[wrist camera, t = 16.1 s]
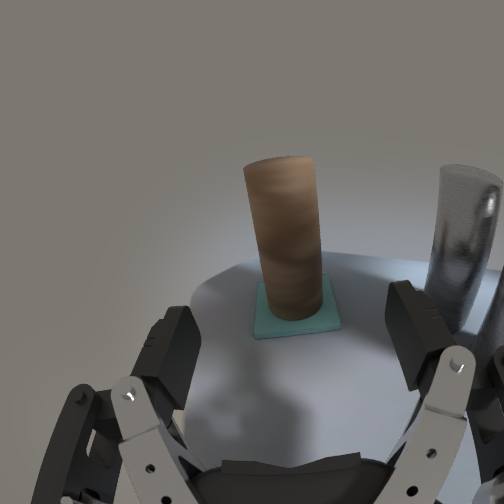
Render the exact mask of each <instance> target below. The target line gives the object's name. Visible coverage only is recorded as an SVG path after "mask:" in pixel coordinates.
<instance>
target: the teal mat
mask: <svg viewBox="0 0 504 504" xmlns="http://www.w3.org/2000/svg"><path fill="white" fill-rule="evenodd" d="M322 286H323V304H322V306H321V308H320V310H319V311H318V312H317V313H316V314H314V315H313V316H311V317H309V318H306V319H303V320H297V321H289V320H283V319H280V318H278V317H276V316H275V315H273V314H272V313H271V311H270V309H269V306H268V300H267V295H266V289H265V284H264V282H258V287H257V298H256V310H255V321H254V333H253V335H254V338H255V339H261V338H273V337H283V336H293V335H302V334H310V333H318V332H326V331H333V330H339V329H341V322H340V318H339V314H338V310H337V306H336V302H335V298H334V294H333V291H332V287H331V283H330V279H329V276H328V274H323V275H322Z"/></svg>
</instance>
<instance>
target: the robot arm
mask: <svg viewBox="0 0 504 504" xmlns="http://www.w3.org/2000/svg"><path fill="white" fill-rule="evenodd" d="M385 322H386V326H387V329H388V332H389V334H390V337H391V340H392V342H393V345H394V348H395V350H396V353H397V356H398V359H399V362H400V365H401V368H402V371H403V374H404V377H405V380H406V383H407V386H408V389H409V391H413V390H417V389H419V392H420V397H419V399H418V401H417V403H416V406H415V408H414V410H413V412H412V415H411V417H410V419H409V421H408V423H407V425H406V427H405V429H404V431H403V433H402V435H401V437H400V439H399V441H398V442H397V444H396V446H395V447H394V449H393V450H392V452H391V454H390V455H389V457H388V459H387V460H386V462H385V463H383V462H381V461H377V460H373V459H366V458H361V456H360V452H357V453H352V454H346V455H340V456H333V457H326V458H323V459H320V460H317V461H314V462H311V463H308V464H304V465H301V466H298V467H294V468H284V467H279V466H274V465H269V464H264V463H260V462H256V461H230V460H222V466H221V467H216V468H213V469H209V470H207V471H206V469H205V468H204V466H203V465H202V464H201V462H200V461H199V460H198V459H197V458H196V456H195V455H194V454H193V452H192V451H191V449H190V447H189V446H188V444H187V442H186V440H185V439H184V437H183V435H182V433H181V431H180V429H179V428H178V426H177V424H176V422H175V420H174V418H173V417H172V414H173V410H174V409H176V410H184V408H185V404H186V400H187V396H188V392H189V388H190V384H191V380H192V376H193V373H194V369H195V365H196V361H197V357H198V354H199V350H200V346H201V335H200V331H199V329H198V326H197V324H196V322H195V320H194V317H193V315H192V312H191V310H190V308H189V307H188V306H172V307H169V308H168V310H167V312H166V315H165V317H164V319H159V320H158V322H157V323H156V324H155V325H154V326H153V327H152V328H151V330H150V332H149V335H148V336H147V340H146V341H145V343H144V347H143V348H142V350H141V352H140V354H139V357H138V359H137V361H136V364H135V366H134V368H133V371H132V373H131V375H130V376H128V377H125V378H122V379H120V380H119V381H118V382H117V383H116V384H115V385H114V386H113V388H112V389H110V390H104V391H98V392H96V391H95V390H94V389H92V387H91V386H90V385H88V384H80V385H78V386H76V387H74V388H73V389H72V390H71V392H70V393H69V395H68V397H67V400H66V402H65V404H64V407H63V409H62V411H61V414H60V416H59V418H58V421H57V423H56V426H55V429H54V431H53V434H52V436H51V439H50V442H49V445H48V448H47V450H46V453H45V456H44V459H43V462H42V465H41V469H40V472H39V475H38V479H37V482H36V486H35V489H34V493H33V497H32V501H31V504H113V501H114V496H115V491H116V487H117V482H118V478H119V473H120V469H121V465H122V461H123V462H124V465H125V467H126V470H127V473H128V475H129V478H130V480H131V482H132V485H133V487H134V489H135V492H136V494H137V496H138V499H139V501H140V503H141V504H442V503H441V502H439V501H438V500H437V499H436V498H437V496H438V494H439V492H440V490H441V488H442V486H443V484H444V482H445V480H446V478H447V476H448V473H449V471H450V469H451V466H452V464H453V462H454V459H455V457H456V454H457V452H458V449H459V446H460V444H461V441H462V438H463V435H464V432H465V429H466V425H467V419H466V418H464V413H465V411H466V412H467V415H468V419H469V423H470V427H471V431H472V435H473V439H474V444H475V448H476V453H477V459H478V464H479V471H480V477H481V486H480V487H479V489H478V490H477V492H476V494H475V497H474V498H473V501H472V504H504V415H503V414H504V345H502V346H500V347H499V348H497V350H496V351H495V353H494V355H493V356H473V354H472V353H471V352H470V351H469V350H468V349H467V348H465V347H462V346H458V345H457V344H456V342H455V340H454V338H453V336H452V334H451V333H450V331H449V329H448V327H447V325H446V324H445V322H444V320H443V318H442V317H441V316H440V313H439V311H438V310H437V309H436V306H435V305H434V303H433V301H432V300H431V298H430V297H429V296H427V295H426V294H425V293H423V292H422V291H421V290H420V291H415V289H414V288H413V286H412V284H411V283H410V281H409V280H404V281H398V282H392V283H390V284H389V289H388V296H387V302H386V309H385ZM498 399H499V400H498ZM499 402H500V403H499ZM500 405H501V406H500ZM501 408H502V409H501ZM502 411H503V412H502ZM92 429H94V430H96V434H95V437H94V440H93V443H92V447H91V450H90V453H89V457H88V456H87V453H86V448H87V445H88V442H89V438H90V435H91V432H92Z"/></svg>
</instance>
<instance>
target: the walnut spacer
mask: <svg viewBox="0 0 504 504" xmlns="http://www.w3.org/2000/svg"><path fill="white" fill-rule="evenodd" d="M243 170H244V176H245V181H246V186H247V192H248V197H249V202H250V208H251V213H252V218H253V224H254V229H255V234H256V240H257V245H258V251H259V256H260V262H261V267H262V273H263V278H264V284H265V289H266V295H267V300H268V306H269V309H270V311H271V313H272V314H273V315H275V316H276V317H278V318H280V319H283V320H289V321H297V320H303V319H306V318H309V317H311V316H313V315H314V314H316V313H317V312H318V311H319V310H320V308H321V306H322V304H323V286H322V259H321V241H320V225H319V212H318V201H317V189H316V179H315V170H314V161H313V159H312V158H309V157H303V156H287V157H277V158H271V159H266V160H261V161H257V162H254V163H252V164H249V165H247V166H245V167H244V168H243Z"/></svg>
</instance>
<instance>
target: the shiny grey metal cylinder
mask: <svg viewBox="0 0 504 504" xmlns="http://www.w3.org/2000/svg"><path fill="white" fill-rule="evenodd" d="M502 345H504V267H503V270H502V273H501V276H500V279H499V282H498V285H497V288H496V290H495V293H494V296H493V299H492V301H491V304H490V306H489V309H488V311H487V313H486V316H485V318H484V320H483V323H482V325H481V327H480V329H479V331H478V333H477V336H476V338H475V340H474V342H473V344H472V346H471V348H470V349H469V351H470V352H471V353H472V354H473V356H493V355H494V353H495V351H496V350H497V348H499V347H500V346H502Z"/></svg>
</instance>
